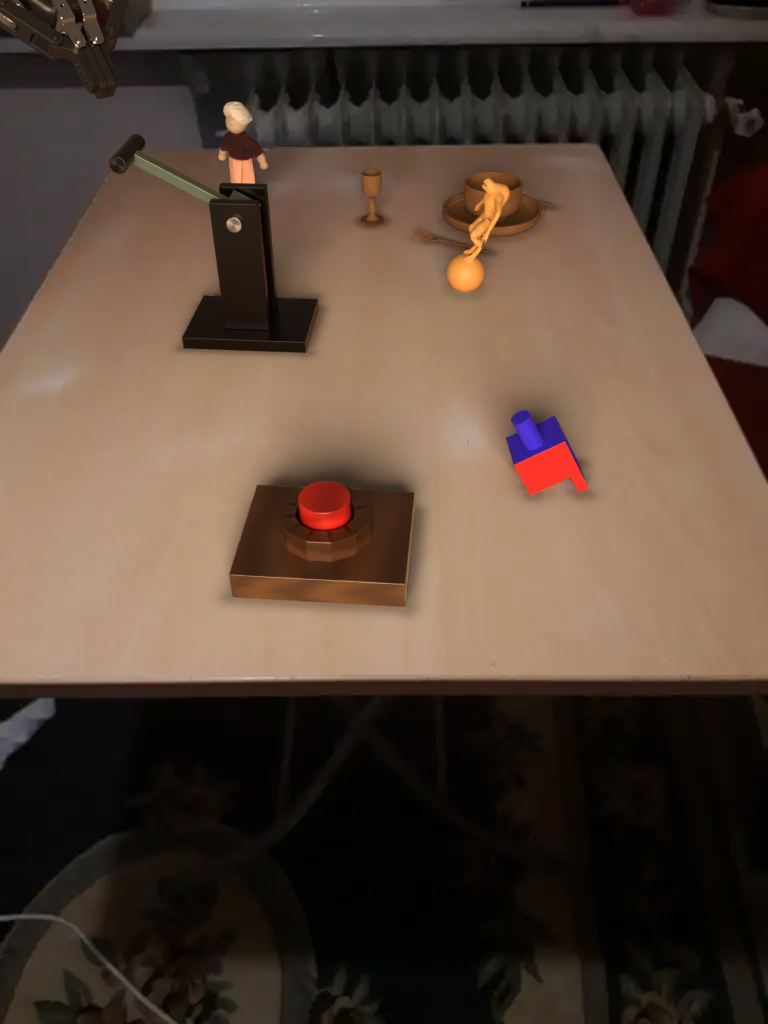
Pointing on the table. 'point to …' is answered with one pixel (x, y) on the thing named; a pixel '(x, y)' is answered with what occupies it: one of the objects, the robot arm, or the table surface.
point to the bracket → (248, 284)
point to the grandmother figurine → (240, 145)
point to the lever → (163, 171)
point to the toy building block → (543, 453)
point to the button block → (325, 550)
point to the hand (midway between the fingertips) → (107, 92)
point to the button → (324, 506)
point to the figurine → (478, 239)
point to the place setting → (468, 205)
